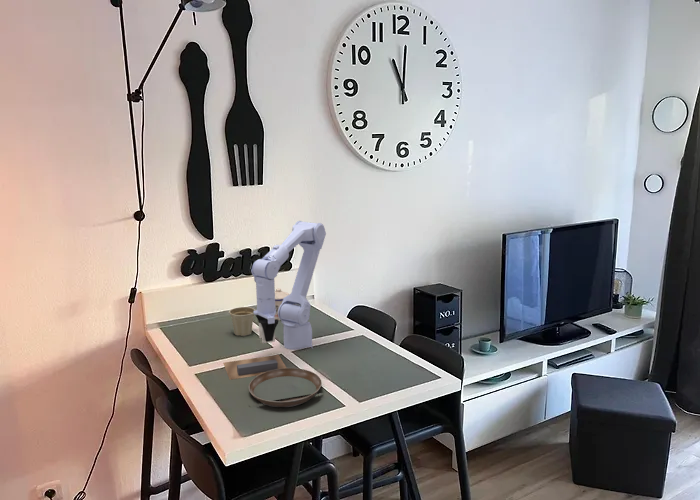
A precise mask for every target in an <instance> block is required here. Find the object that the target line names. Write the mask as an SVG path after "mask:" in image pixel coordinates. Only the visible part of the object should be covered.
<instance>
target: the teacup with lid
mask: <svg viewBox="0 0 700 500" xmlns="http://www.w3.org/2000/svg"><path fill="white" fill-rule="evenodd" d="M288 295H290V293H288V292H286V291H283V290H282V289H281V288H278V287H277V288H275V309H276V314H275V320H276V319H277V320H278V321H281V320H280V319H279V317H278V309H279V307H280V305H281V304H282V302H283V299H284V297H286V296H288ZM294 305H297V304H294Z"/></svg>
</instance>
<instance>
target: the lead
mask: <svg viewBox="0 0 700 500" xmlns="http://www.w3.org/2000/svg"><path fill="white" fill-rule="evenodd" d="M275 369H278V363H277V361H276V359H275V360H268V361H261V362H254V363H248V364H241V365H237V373H238V375H239V376H241V375H248V374H254V373H261V372H267V371H271V370H275Z"/></svg>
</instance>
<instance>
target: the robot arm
mask: <svg viewBox="0 0 700 500" xmlns="http://www.w3.org/2000/svg"><path fill="white" fill-rule="evenodd" d="M326 235H327V233H326V229H325V225H324V224H323V223H321V222H308V221H302V220H298V221H296V222H295V224H293V225H292V229H291V232H290V234H288V236H287V237H286V238H285V239H284V241H283V242H282V243H281V244H275V245H273V247H272V248H271V250H270V251H268V252H267V253H266V254H265V255H264V256H263V257H262V258H259V259H257V260H254V262H253V264H252V266H251V270H250V272H251V275H252V276H253V279H254V280H253V281H254V283H255V287H256V288H255V290H256V309H255V311H253V313H254V316H255V318H257V321H258V324H259V323H261V325H262V327H263V331H264V336H265V340H266V342H268V341H273V337H274V332H275V333H276V328H277V325H278V324H279V321H281V324H283V325H282V326H283V328H282V329H283V347H284V348H285V349H287V350H291V351H292V350H294V351H295V350H301V349H305V348H311V349H314V348H313V329H312V324H311V322H310V321H309V320H310V315H311V312H310V311H311V306H312V305H311V303H310V302H309V300H308V299H307V296H308V292H309V289H310V285H311V282H312V280H313V279H312V278H313V275H314V271H315V269H316V265H317V262H318V258H319V255H320V251H321V250H322V249H323V245H324V241H325V239H326V238H325V237H326ZM298 245H299V246H300V247H301V248H302V249H303V253H302V256H301V260H300V263H299V265H298V270H297V273H296V276H295V278H294V282H293V287H292V289H291V292H290V293H289V295H288V296H286V297H284V299H283V302H282V304H281V305H280V307H279V309H278V317H279V319H280V320H277V319H276V320H275V314H276V309H275V291H276V288H275V286H276V285H275V278H277V276H278V273H279V270H280V269H281V266H282V265H283V264H284V263H285V262H286V261H287V260H288V259H289V256H290V254H289V253H290V252H291V251H292V250H293V249H294V248H296V247H297V246H298ZM294 304H296V305H294ZM268 343H269V342H268Z"/></svg>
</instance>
